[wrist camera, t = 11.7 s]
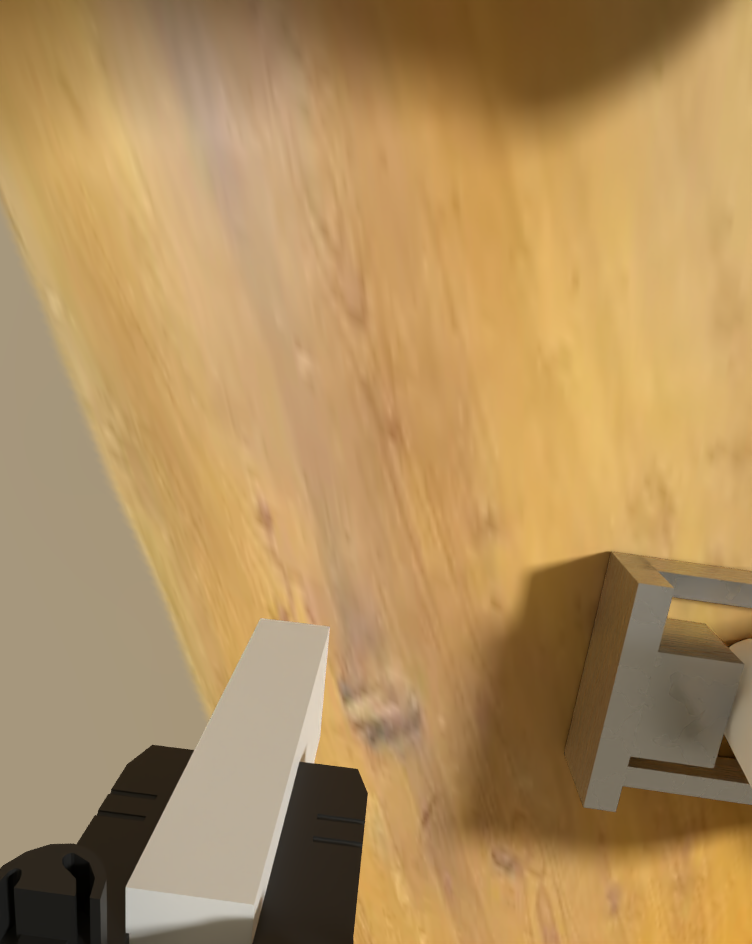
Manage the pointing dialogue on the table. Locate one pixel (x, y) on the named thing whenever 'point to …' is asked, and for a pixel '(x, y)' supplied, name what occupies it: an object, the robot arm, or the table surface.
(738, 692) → the cup
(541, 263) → the table surface
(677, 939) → the table surface
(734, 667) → the frame
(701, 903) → the table surface
